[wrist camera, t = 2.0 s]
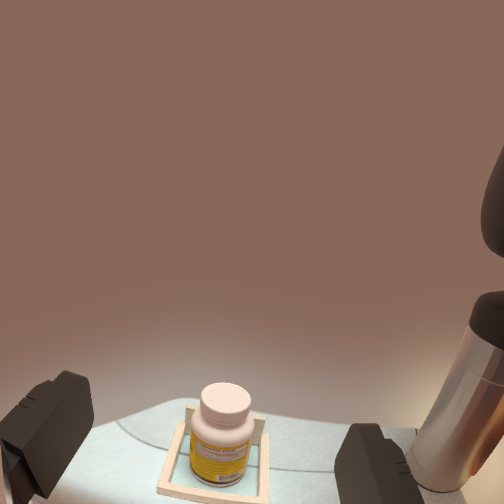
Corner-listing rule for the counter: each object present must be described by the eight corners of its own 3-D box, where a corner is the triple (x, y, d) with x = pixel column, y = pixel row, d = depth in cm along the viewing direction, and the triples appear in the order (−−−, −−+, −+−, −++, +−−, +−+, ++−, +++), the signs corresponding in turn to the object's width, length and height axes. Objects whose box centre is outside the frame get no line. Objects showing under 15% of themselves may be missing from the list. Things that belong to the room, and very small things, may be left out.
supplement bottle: (205, 441, 29) (212, 370, 27) (252, 460, 27) (270, 390, 25) (178, 473, 24) (179, 401, 22) (231, 496, 22) (246, 428, 20)
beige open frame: (266, 441, 30) (273, 415, 30) (265, 510, 21) (274, 488, 20) (179, 427, 31) (179, 401, 30) (157, 492, 21) (155, 469, 20)
